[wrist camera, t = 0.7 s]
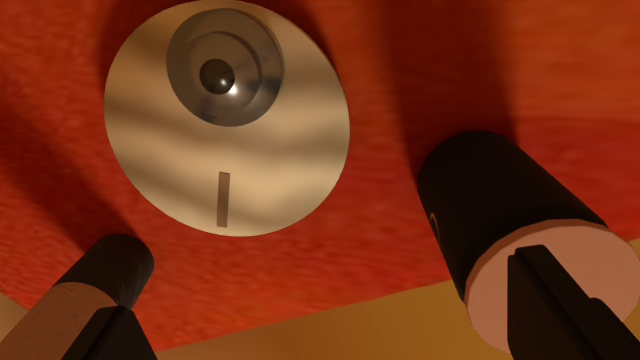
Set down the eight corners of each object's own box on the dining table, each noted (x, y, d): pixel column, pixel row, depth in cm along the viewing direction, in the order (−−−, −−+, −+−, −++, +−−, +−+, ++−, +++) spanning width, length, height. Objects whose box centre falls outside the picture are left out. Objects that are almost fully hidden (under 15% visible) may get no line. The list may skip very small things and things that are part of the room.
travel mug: (164, 246, 46) (57, 412, 28) (147, 293, 50) (41, 468, 31) (98, 221, 45) (-57, 377, 27) (85, 270, 48) (-63, 439, 30)
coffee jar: (393, 178, 42) (431, 300, 26) (475, 103, 38) (580, 190, 22) (460, 237, 45) (532, 380, 28) (542, 173, 41) (679, 294, 25)
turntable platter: (106, -23, 33) (92, -23, 31) (370, 22, 34) (373, 24, 32) (121, 209, 42) (112, 219, 41) (328, 239, 43) (328, 251, 41)
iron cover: (177, -2, 32) (153, 0, 27) (291, 17, 32) (284, 22, 28) (177, 109, 35) (156, 125, 31) (278, 125, 36) (271, 143, 32)
